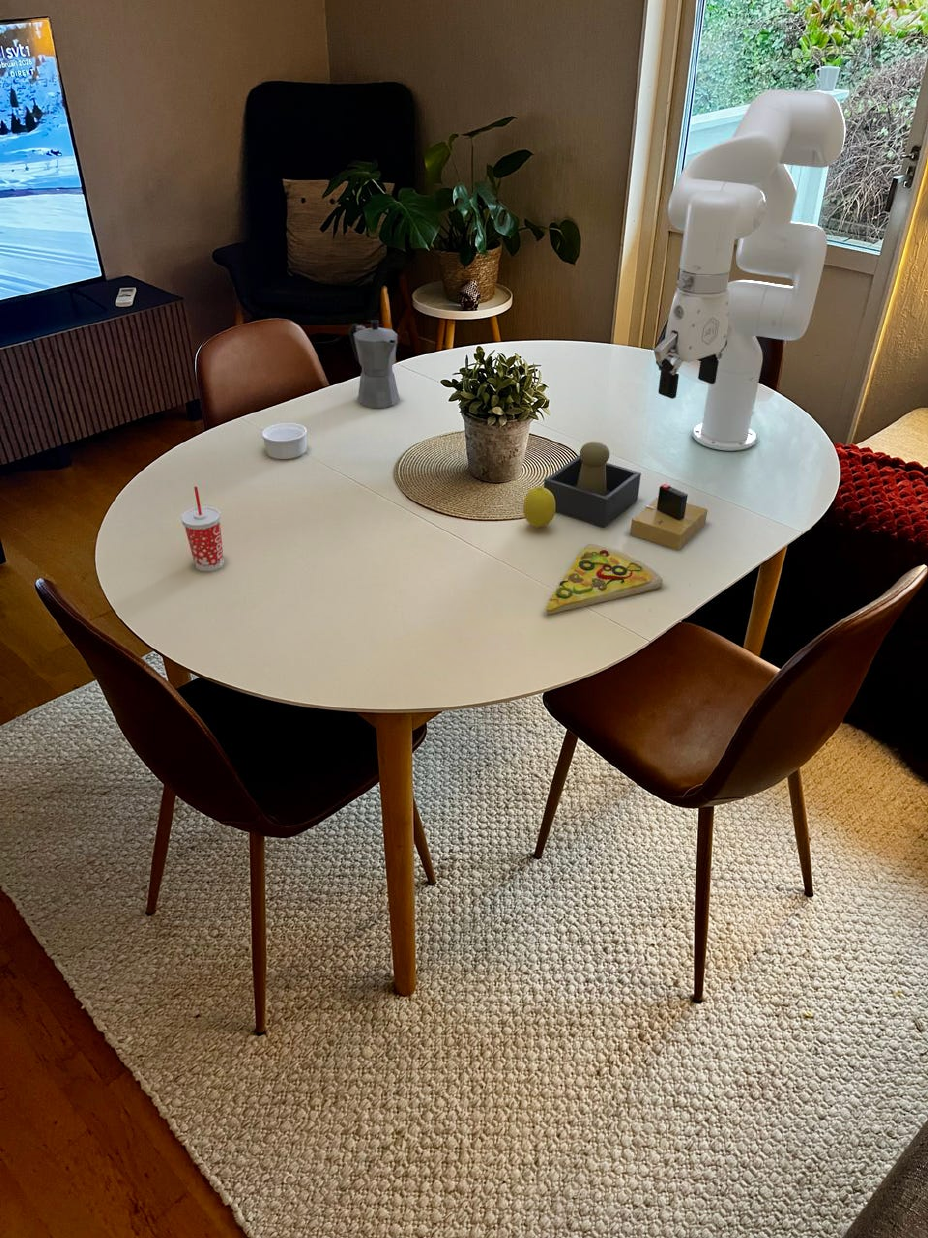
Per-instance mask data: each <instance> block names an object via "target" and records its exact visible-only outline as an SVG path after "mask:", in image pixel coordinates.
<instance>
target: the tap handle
mask: <svg viewBox="0 0 928 1238" xmlns="http://www.w3.org/2000/svg"><path fill="white" fill-rule="evenodd" d="M688 496H689V494H688V493H685V492H684V491H681V490H679V489H677V488H674V487H672V486H671V485H670V484H668V483H664V484H663V483H662V484H661V485H660V486H659V490H658V497H657V498H658V503H657V510H658V511H660V512H662V513H664V514H666V515H668V516H671V517H673V518H675V519H677V520H681V519H683V518H684V516H685V510H686V504H687V503H688Z"/></svg>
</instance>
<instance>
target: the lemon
mask: <svg viewBox="0 0 928 1238" xmlns="http://www.w3.org/2000/svg"><path fill="white" fill-rule="evenodd" d="M522 504H523V506H522V511H523V516H524V519H525V521H526V522H527V523H528V524H529V525H531V526H533V527H535V528H536V529H540V528H542V527H545V526H547V525H549V524H550V523H551V522H552V521H553V519H554V517H555V514H556V512H555V499H554V496H553V494H552V493H551V492H550V491H549V490H548V489H546V488H544V486H541V485H540V486H539V485H538V486H536V487H533V488H532V489H530V490H529V491H528V492H527V493H526V494H525V497H524V501H523V503H522Z"/></svg>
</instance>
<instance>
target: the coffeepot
mask: <svg viewBox="0 0 928 1238" xmlns="http://www.w3.org/2000/svg"><path fill="white" fill-rule="evenodd" d="M370 324H371V327H368V328H366V326H364V325H361V324H360V325H359V324H358V323H352V324H351V326H350V327H349V329H348V336H349V339H350V343H351V347H352V350H353V354H354V357H355V358H354V359H355V360H356V361H357V362H358V363H359V365H360V366H361V373H360V376H359V384H358V385H359V386H358V395H357V401H358V403H359V404H360V405H361V406H362V407H364V408H368V409H378V410H379V409H380V410H381V409H387V408H391V407H393V406H396V405H397V404H398V402H399V401H401V400H400V394H399V391H398V385H397V381H396V377H395V373H394V371H393V366H394V365H395V362H396V361H395V360H396V354H397V353H396V352H397V344H398V334H397V333H396V331H394V329H391V328H386V327H379V320H377V319H373V320H370Z"/></svg>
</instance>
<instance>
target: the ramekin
mask: <svg viewBox="0 0 928 1238" xmlns="http://www.w3.org/2000/svg"><path fill="white" fill-rule="evenodd" d="M307 434H308V429H307V427H305V426H304V425H302V424H299V423H295V422H281V423H275V424H272V425H269V426H267V427H265V428H264V429H263V430H262V431H261V436H262V440H263V443H264V448H265V452H266V454H267V455H268V456H269V457H271V458H273V459H277V460H290V459H295V458H298V457H300V456H302V455H303V454H305V452H306V451H307V447H308V446H307V445H308V444H307Z"/></svg>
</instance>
